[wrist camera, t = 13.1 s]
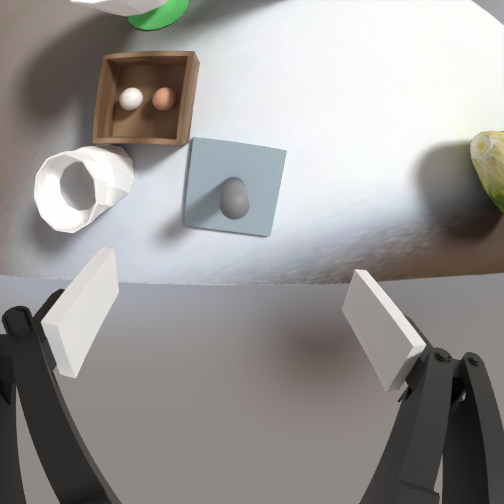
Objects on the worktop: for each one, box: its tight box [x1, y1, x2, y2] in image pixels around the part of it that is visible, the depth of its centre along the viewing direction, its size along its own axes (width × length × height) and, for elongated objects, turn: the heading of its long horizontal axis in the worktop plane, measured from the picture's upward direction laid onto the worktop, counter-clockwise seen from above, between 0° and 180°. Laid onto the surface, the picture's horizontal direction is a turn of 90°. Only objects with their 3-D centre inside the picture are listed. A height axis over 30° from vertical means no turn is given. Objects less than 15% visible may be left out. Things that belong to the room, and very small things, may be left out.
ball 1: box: [119, 88, 143, 111], centre depth 29 cm, size 3×3×3 cm
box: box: [92, 51, 200, 145], centre depth 29 cm, size 11×11×6 cm
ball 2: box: [152, 87, 177, 111], centre depth 30 cm, size 3×3×3 cm
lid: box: [184, 137, 287, 236], centre depth 33 cm, size 12×12×10 cm
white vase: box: [34, 143, 135, 233], centre depth 30 cm, size 9×9×12 cm
